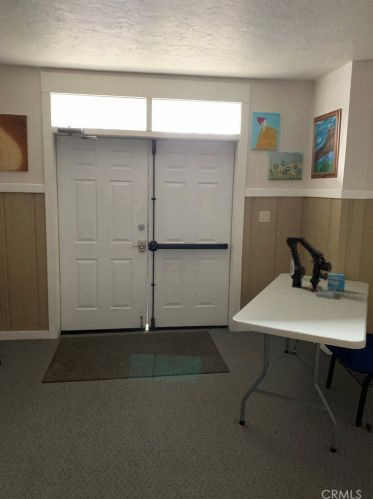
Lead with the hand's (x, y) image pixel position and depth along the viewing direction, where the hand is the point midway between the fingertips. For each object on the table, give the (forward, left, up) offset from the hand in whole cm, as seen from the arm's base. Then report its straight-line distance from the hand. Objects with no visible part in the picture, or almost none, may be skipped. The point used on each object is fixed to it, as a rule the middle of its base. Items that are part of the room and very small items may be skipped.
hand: (315, 289), depth 296 cm
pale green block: (0, 0, +2) cm, 2 cm away
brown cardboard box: (0, 0, -1) cm, 1 cm away
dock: (+9, -9, -1) cm, 13 cm away
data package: (+13, +13, -1) cm, 18 cm away
